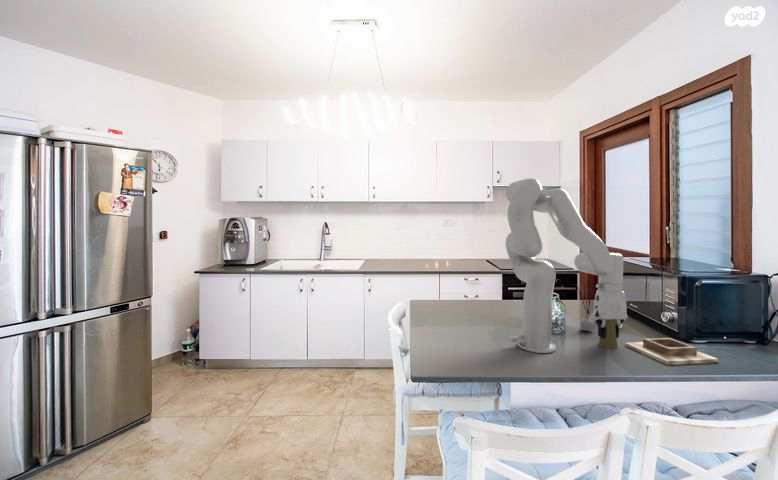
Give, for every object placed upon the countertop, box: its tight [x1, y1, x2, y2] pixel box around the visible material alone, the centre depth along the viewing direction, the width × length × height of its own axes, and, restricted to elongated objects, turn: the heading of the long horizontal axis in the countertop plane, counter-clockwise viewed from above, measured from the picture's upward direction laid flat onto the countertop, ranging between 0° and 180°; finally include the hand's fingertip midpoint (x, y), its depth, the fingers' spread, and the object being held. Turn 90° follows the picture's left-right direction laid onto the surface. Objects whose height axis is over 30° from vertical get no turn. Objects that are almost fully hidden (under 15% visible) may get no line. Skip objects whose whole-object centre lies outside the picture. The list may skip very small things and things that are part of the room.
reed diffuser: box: [576, 281, 595, 332], centre depth 154 cm, size 10×7×20 cm
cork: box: [598, 320, 619, 349], centre depth 136 cm, size 6×6×11 cm
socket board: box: [624, 337, 719, 366], centre depth 129 cm, size 18×18×4 cm
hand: (608, 336), depth 137 cm, fingers open, 4 cm apart
